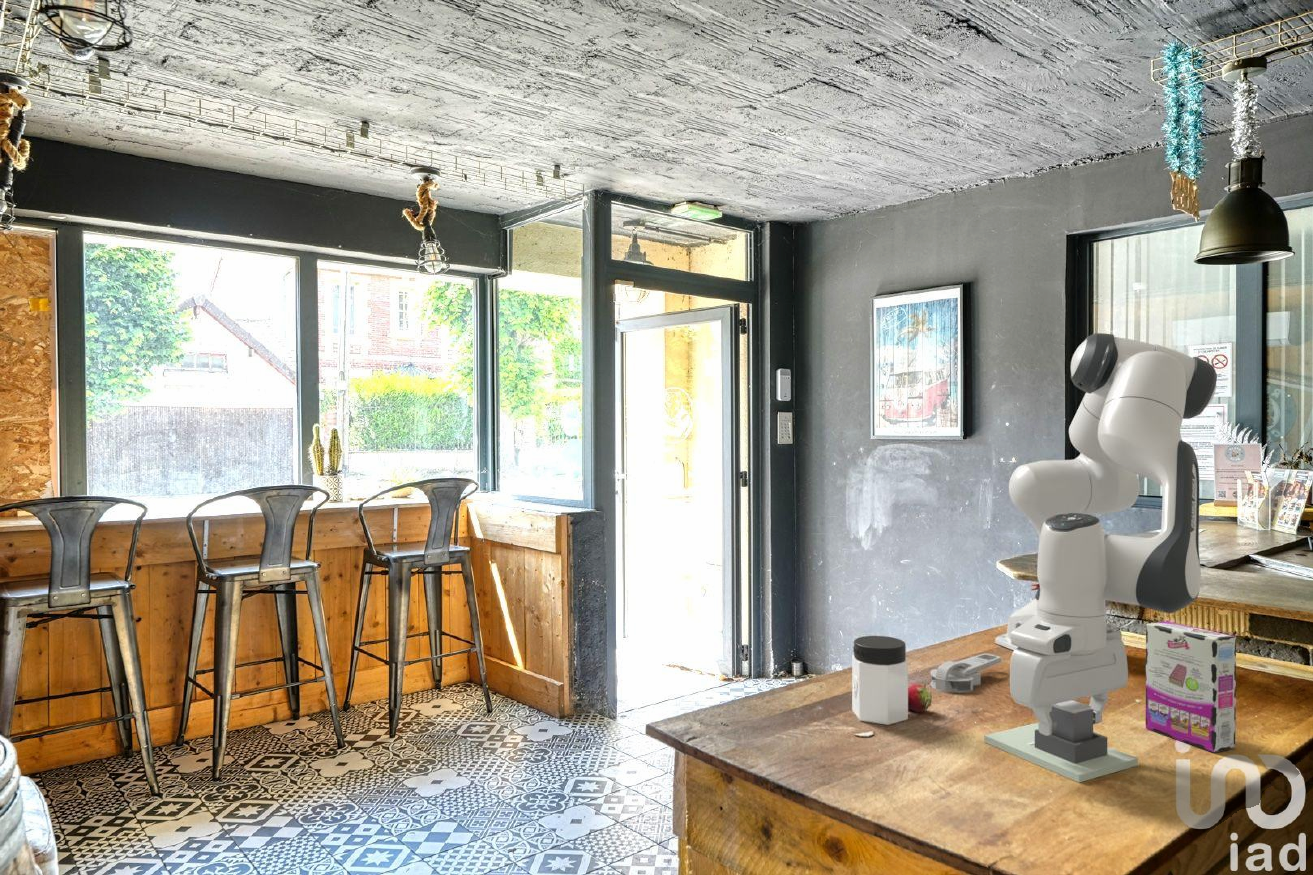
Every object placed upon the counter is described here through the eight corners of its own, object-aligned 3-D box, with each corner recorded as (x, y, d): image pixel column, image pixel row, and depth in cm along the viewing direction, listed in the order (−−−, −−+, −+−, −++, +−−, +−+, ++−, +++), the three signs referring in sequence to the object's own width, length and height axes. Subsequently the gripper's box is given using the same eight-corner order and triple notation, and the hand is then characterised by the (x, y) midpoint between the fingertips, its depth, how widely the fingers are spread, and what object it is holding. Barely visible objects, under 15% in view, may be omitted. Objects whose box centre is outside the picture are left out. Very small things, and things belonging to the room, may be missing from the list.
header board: (984, 741, 130) (984, 718, 130) (1040, 728, 135) (1040, 705, 135) (1078, 782, 115) (1079, 756, 115) (1138, 765, 121) (1138, 740, 121)
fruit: (908, 703, 147) (908, 674, 147) (938, 713, 142) (938, 682, 142) (892, 708, 145) (892, 678, 145) (922, 718, 140) (922, 687, 140)
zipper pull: (1013, 676, 162) (1013, 653, 162) (959, 696, 151) (959, 671, 151) (974, 666, 168) (974, 644, 168) (919, 685, 157) (919, 661, 157)
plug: (1048, 747, 124) (1049, 702, 124) (1068, 742, 126) (1068, 698, 126) (1073, 757, 121) (1073, 711, 121) (1093, 751, 123) (1093, 706, 122)
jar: (847, 706, 146) (847, 635, 145) (895, 705, 146) (895, 634, 146) (861, 726, 137) (861, 649, 136) (913, 724, 137) (913, 648, 137)
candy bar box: (1237, 748, 126) (1239, 635, 126) (1214, 754, 124) (1215, 639, 124) (1165, 723, 137) (1166, 619, 136) (1143, 728, 135) (1144, 622, 134)
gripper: (1100, 617, 130) (1100, 709, 131) (1001, 634, 121) (1001, 732, 122) (1140, 626, 125) (1139, 722, 125) (1039, 644, 116) (1039, 748, 116)
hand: (1070, 727), depth 123 cm, fingers open, 8 cm apart
